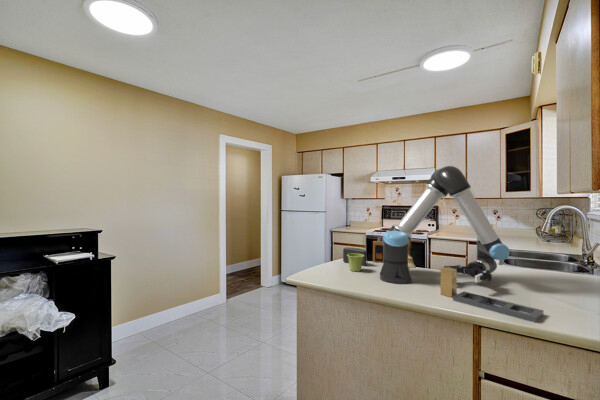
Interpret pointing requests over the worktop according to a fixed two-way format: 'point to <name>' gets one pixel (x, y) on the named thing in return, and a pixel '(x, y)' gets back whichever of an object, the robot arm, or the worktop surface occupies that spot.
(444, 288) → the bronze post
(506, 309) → the grey slotted tray
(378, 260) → the multimeter
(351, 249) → the leaning round-cornered charcoal block
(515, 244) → the worktop surface
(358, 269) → the plant pot
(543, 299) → the worktop surface
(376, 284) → the worktop surface
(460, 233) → the worktop surface
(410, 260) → the hand bell
